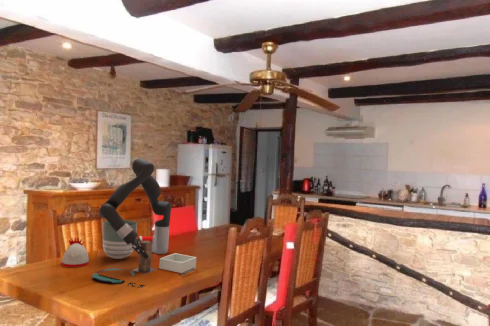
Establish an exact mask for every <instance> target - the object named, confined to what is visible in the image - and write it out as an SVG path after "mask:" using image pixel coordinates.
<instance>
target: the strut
mask: <svg viewBox="0 0 490 326" xmlns="http://www.w3.org/2000/svg"><path fill="white" fill-rule="evenodd" d="M140 244H141V245H142V247H143V250H144V251H145V252H146V253H147V254H148V256H149V257H148V258H147V259H145V258H144V257H143V256H142V255H141V254H140V255H139V254H138V255H139V257H138V268H139V269H138V270H141V271H148V270H150V269H151V268H152V267H151V265H152V253H153V252H152V242H150V241H143V242H140ZM140 251H141V250H140Z"/></svg>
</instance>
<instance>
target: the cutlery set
mask: <svg viewBox="0 0 490 326" xmlns="http://www.w3.org/2000/svg"><path fill="white" fill-rule="evenodd" d="M105 271H106V272H107V271H108V272H109V271H124V268H123V269H122V268H107V269H103V270H99V271H97V272H95V273H93V274H92V276H91V277H92V279H95V280H96V281H100V282H103V283H104V282H105V283H112V284H121V283H122V282H125V280H124V279H123V280H122V279H119V278H115V277H111V276H106V275H102V274H99V273H101V272H105ZM126 271H128V272H130V274H131V275H132V277H134V276H136V274H135V271H132V270H131V271H130V270H128V269H126ZM129 284H130V285H131V286H132V285H133V284H134V285H136V287H137V289H140V288H139V286H140V287H141V286H142V287H141V288H144V287H145V286H146V285H144V284H138V285H139V286H138V285H137V283H135V282H134V283H133V282H132V281H130V282H129V283H126V286H127V285H128V286H129ZM134 285H133V286H134ZM143 286H144V287H143Z"/></svg>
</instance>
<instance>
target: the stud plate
mask: <svg viewBox="0 0 490 326" xmlns="http://www.w3.org/2000/svg"><path fill="white" fill-rule="evenodd" d="M138 269H139V267H136V268H133V269H131V271H132V272H136V273H141V274H145V275H147V274H149V273H151V272H154V271H157V270H158V268H154V267H151V269H150V270H148V271H141V270H138Z"/></svg>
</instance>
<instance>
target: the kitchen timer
mask: <svg viewBox="0 0 490 326" xmlns="http://www.w3.org/2000/svg"><path fill="white" fill-rule="evenodd" d="M81 242H82V239H80V237H79V236H78V237H77V238H76V237H74V239H73V237H71V239H68V244H69V246H68V247H67V248H66V249H65V250H64V254H63V256H62V258H61V266H63V267H65V268H82V267H85V266H88V265H89V263H90V259H89V255H88V251H87V249H86V248H85V246H84V243H85V241H83V242H82V243H81Z"/></svg>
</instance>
